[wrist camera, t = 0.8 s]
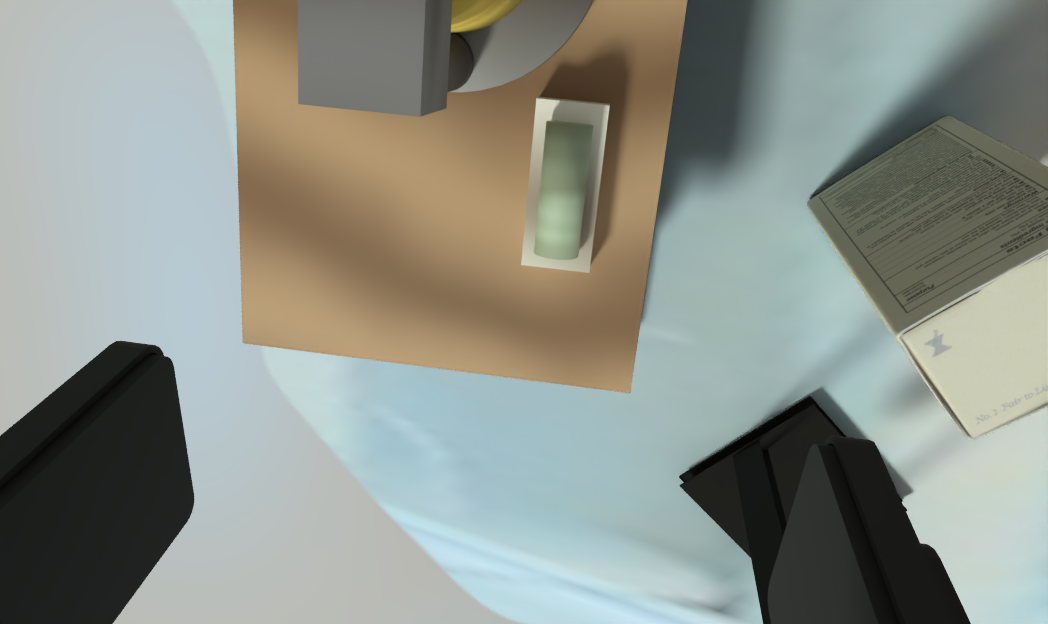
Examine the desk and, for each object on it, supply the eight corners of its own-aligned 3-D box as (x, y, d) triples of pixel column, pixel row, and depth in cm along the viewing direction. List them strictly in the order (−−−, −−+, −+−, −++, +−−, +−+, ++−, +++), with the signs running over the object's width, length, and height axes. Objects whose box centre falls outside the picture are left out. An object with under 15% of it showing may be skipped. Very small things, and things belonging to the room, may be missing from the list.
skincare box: (854, 279, 33) (961, 452, 22) (800, 197, 32) (885, 338, 21) (1004, 195, 31) (1205, 342, 20) (952, 103, 30) (1135, 206, 19)
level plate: (241, -375, 22) (-40, -694, 13) (735, -349, 21) (831, -678, 12) (257, 331, 29) (81, 467, 20) (629, 379, 28) (634, 547, 19)
